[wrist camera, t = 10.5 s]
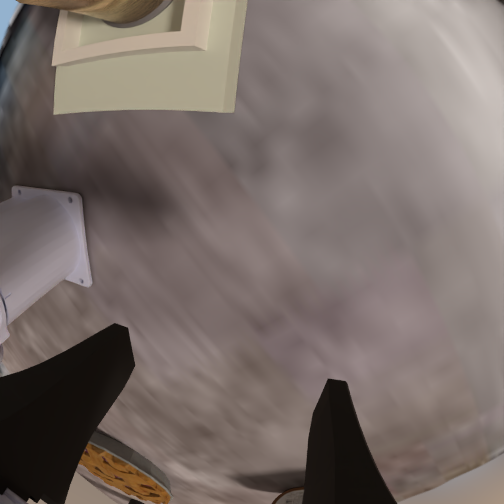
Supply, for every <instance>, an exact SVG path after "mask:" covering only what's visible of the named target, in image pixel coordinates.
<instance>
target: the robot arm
mask: <svg viewBox="0 0 504 504" xmlns="http://www.w3.org/2000/svg"><path fill="white" fill-rule="evenodd" d="M71 198H72V200H71ZM63 279H65V280H68V281H71V282H74V283H77V284H79V285H82V286H85V287H90V286H91V285H92V277H91V271H90V265H89V258H88V251H87V243H86V235H85V226H84V216H83V205H82V197H81V195H80V194H78V193H74V192H66V191H58V190H51V189H43V188H34V187H26V186H17V185H16V186H13V187H12V198H10V199H8V200H5V201H3V202H1V203H0V364H1V362H2V358H3V346H2V343H3V342H4V341H5V340H6V339H7V338H8V337H9V336H10V334H9V332H8V329H7V326H8V325H9V324H10V323H11V322H12V321H13V320H15V319H16V318H17V317H18V316H19V315H20V314H22V313H23V312H24V311H25V310H26V309H27V308H29V307H30V306H31V305H32V304H34V303H35V302H36V301H37V300H38V299H40V298H41V297H42V296H43V295H45V294H46V293H47V292H48V291H49V290H51V289H52V288H53V287H55V286H56V285H57V284H58V283H60V282H61V281H62V280H63ZM134 367H135V362H134V357H133V352H132V347H131V341H130V336H129V330H128V328H127V327H124V326H121V325H119V324H116V323H114V324H112V325H110V326H108V327H107V328H105V329H103V330H101V331H100V332H98V333H96V334H94V335H93V336H91V337H89V338H88V339H86V340H84V341H82V342H81V343H79V344H77V345H75V346H73V347H72V348H70V349H68V350H66V351H64V352H62V353H60V354H58V355H56V356H54V357H52V358H50V359H48V360H46V361H44V362H42V363H40V364H38V365H35V366H33V367H30V368H28V369H25V370H23V371H20V372H17V373H13V374H10V375H7V376H3V377H0V504H28V503H26V502H27V501H28V499H29V498H30V499H32V500H33V501H34V502H36V503H38V501H39V500H40V499H42V500H43V501H44V502H46V503H47V504H64V503H65V500H66V497H67V494H68V490H69V487H70V484H71V481H72V479H73V476H74V473H75V471H76V468H77V466H78V464H79V461H80V459H81V457H82V455H83V452H84V450H85V448H86V446H87V444H88V442H89V440H90V438H91V436H92V435H93V433H94V431H95V430H96V428H97V426H98V425H99V423H100V422H101V421H102V419H103V418H104V416H105V415H106V413H107V412H108V410H109V409H110V407H111V406H112V405H113V403H114V402H115V400H116V399H117V397H118V396H119V394H120V393H121V391H122V390H123V388H124V387H125V385H126V383H127V381H128V379H129V377H130V375H131V373H132V371H133V369H134ZM302 504H397V502H396V501H395V499H394V498H393V496H392V494H391V492H390V491H389V489H388V487H387V486H386V484H385V482H384V480H383V478H382V476H381V474H380V472H379V470H378V468H377V466H376V464H375V462H374V459H373V457H372V455H371V452H370V450H369V448H368V445H367V443H366V440H365V437H364V435H363V432H362V429H361V427H360V424H359V421H358V418H357V415H356V412H355V409H354V405H353V402H352V399H351V395H350V391H349V388H348V384H347V382H346V381H341V380H334V379H328V380H327V382H326V385H325V387H324V389H323V392H322V394H321V396H320V398H319V401H318V403H317V405H316V407H315V410H314V412H313V416H312V421H311V427H310V432H309V438H308V450H307V462H306V474H305V485H304V494H303V500H302Z"/></svg>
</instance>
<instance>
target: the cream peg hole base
mask: <svg viewBox="0 0 504 504" xmlns="http://www.w3.org/2000/svg"><path fill="white" fill-rule="evenodd" d="M247 1H248V0H164V1H163V2H162V3H161V4H160V5H159V6H158V7H157V8H156V9H155V10H154V11H153V12H151V13H150V14H149V15H147V16H145V17H144V18H142V19H140V20H138V21H135V22H132V23H127V24H118V23H114V22H110V21H107V20H103V19H99V18H96V17H92V16H88V15H84V14H79V13H75V12H70V11H66V10H61V9H60V14H59V19H58V25H57V30H56V37H55V44H54V51H53V59H52V66H57V68H56V79H55V94H54V115H56V114H65V113H77V112H90V111H109V110H188V111H207V112H222V113H234V108H235V99H236V90H237V81H238V72H239V64H240V55H241V47H242V39H243V31H244V24H245V16H246V9H247Z"/></svg>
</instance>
